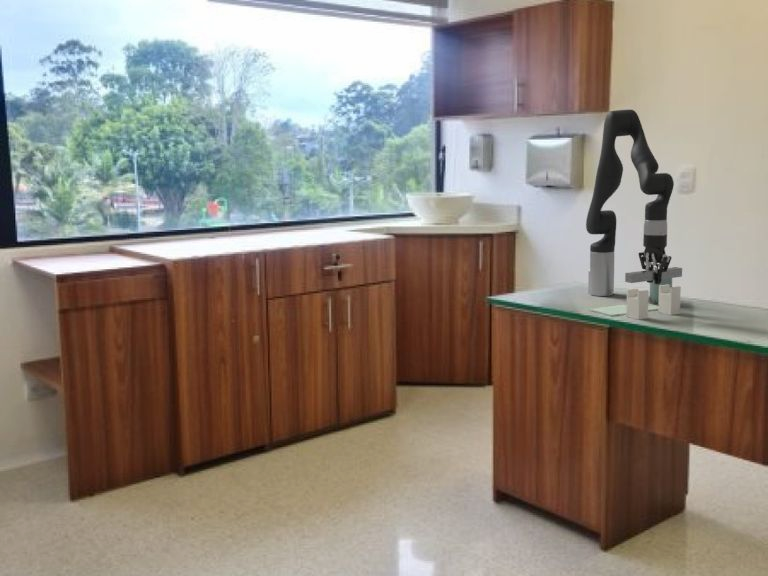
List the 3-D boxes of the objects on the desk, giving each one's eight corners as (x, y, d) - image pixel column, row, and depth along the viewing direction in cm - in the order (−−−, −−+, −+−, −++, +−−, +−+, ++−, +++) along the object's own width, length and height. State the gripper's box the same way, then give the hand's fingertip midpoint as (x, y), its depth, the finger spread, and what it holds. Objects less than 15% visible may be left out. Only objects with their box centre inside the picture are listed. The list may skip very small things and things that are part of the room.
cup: (673, 305, 280) (674, 278, 278) (650, 305, 282) (651, 278, 280) (669, 301, 287) (670, 274, 286) (648, 301, 289) (648, 274, 287)
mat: (589, 310, 276) (589, 309, 276) (642, 303, 285) (642, 302, 285) (611, 316, 265) (611, 314, 265) (665, 308, 274) (665, 307, 274)
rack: (626, 316, 264) (626, 289, 262) (667, 310, 271) (667, 284, 269) (638, 319, 258) (639, 291, 257) (679, 313, 265) (680, 286, 263)
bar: (625, 281, 260) (625, 273, 259) (675, 275, 268) (675, 266, 268) (631, 283, 257) (631, 274, 256) (681, 276, 265) (682, 268, 265)
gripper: (632, 232, 265) (631, 281, 268) (661, 235, 252) (660, 287, 255) (649, 230, 267) (647, 279, 271) (679, 234, 255) (677, 285, 258)
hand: (653, 283), depth 263 cm, fingers closed on bar, 3 cm apart
